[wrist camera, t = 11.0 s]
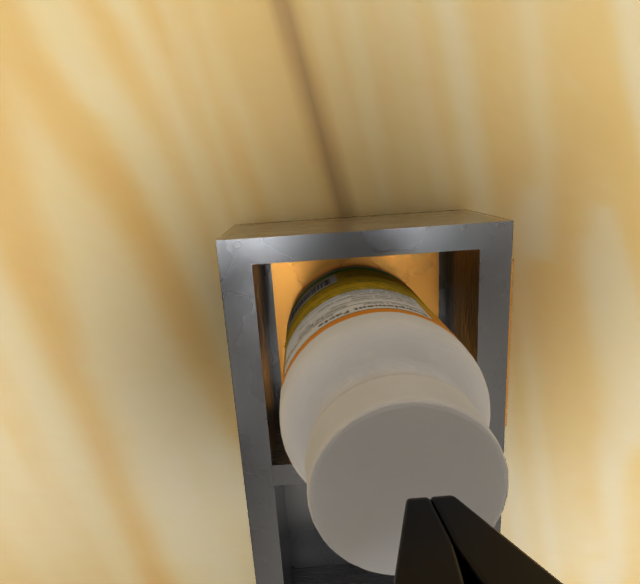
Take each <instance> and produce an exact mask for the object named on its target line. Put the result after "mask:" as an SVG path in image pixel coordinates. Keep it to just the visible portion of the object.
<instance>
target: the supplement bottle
mask: <svg viewBox="0 0 640 584" xmlns="http://www.w3.org/2000/svg"><path fill="white" fill-rule="evenodd" d="M279 418H280V430H281V436H282V440H283V444H284V447H285V451H286V453H287V455H288V457H289V459H290V461H291V463H292V465H293V467H294V468H295V470H296V471H297V473H298V474H299V476H300V477H301V478H302V479H303V480H304V481H305V482H306V483H307V499H308V507H309V511H310V514H311V518H312V521H313V523H314V525H315V527H316V529H317V530H318V532H319V534H320V535H321V537H322V539H323V540H324V541H325V542H326V544H327V545H328V546H329V547H330V548H331V549H332V550H333V551H334V552H335V553H336V554H338V555H339V556H340V557H342V558H343V559H345V560H346V561H348V562H349V563H351V564H353V565H356V566H358V567H360V568H362V569H365V570H368V571H371V572H375V573H380V574H386V575H395V570H396V563H397V557H398V550H399V544H400V537H401V530H402V524H403V517H404V511H405V504H406V501H407V499H409V498H420V497H427V498H429V499H431V498H432V497H434V496H446V495H452V496H454V497H456V498H457V499H459V500H460V501H461V502H462V503H464V504H465V505H466V506H467V507H468V508H470V509H471V510H472V511H473V512H475V513H476V514H477V515H478V516H480V517H481V518H482V519H483V520H485V521H486V522H487V523H488V524H490V525H491V526H492V527H493V528H494V526H495V524H496V523H497V521H498V519H499V517H500V515H501V513H502V511H503V509H504V505H505V501H506V498H507V492H508V469H507V464H506V460H505V457H504V454H503V451H502V449H501V446H500V444H499V442H498V441H497V439H496V437H495V436H494V434H493V433H492V432H491V430H490V429H489V425H490V399H489V392H488V388H487V385H486V382H485V379H484V377H483V374H482V372H481V370H480V368H479V366H478V364H477V363H476V361H475V360H474V358H473V357H472V355H471V354H470V353H469V352H468V350H467V349H466V348H465V347H464V345H463V344H462V343H461V342H460V341H459V340H458V339H457V338H456V336H455V335H454V334H453V333H452V332H451V331H450V330H449V329H448V328H447V327H446V326H445V325H444V324H443V323H442V321H441V320H440V319H439V318H438V317H437V316H436V315H435V314H434V313H433V312H432V311H431V310H430V309H429V308H428V307H427V306H426V305H425V304H424V303H423V301H422V300H421V299H420V298H419V297H418V296H417V295H416V294H415V293H414V292H413V291H412V290H411V289H410V288H409V287H408V286H407V285H406V284H405V283H404V282H402V281H401V280H400V279H398V278H397V277H395V276H394V275H392V274H390V273H388V272H386V271H383V270H380V269H377V268H372V267H366V266H348V267H343V268H339V269H336V270H333V271H330V272H328V273H326V274H324V275H322V276H320V277H319V278H317V279H316V280H314V281H313V282H312V283H311V284H309V285H308V286H307V287H306V288H305V289H304V290H303V292H302V293H301V294H300V296H299V297H298V299H297V300H296V302H295V304H294V306H293V308H292V310H291V313H290V316H289V320H288V324H287V332H286V342H285V354H284V365H283V375H282V385H281V395H280V411H279Z"/></svg>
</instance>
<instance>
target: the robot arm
mask: <svg viewBox="0 0 640 584" xmlns="http://www.w3.org/2000/svg"><path fill="white" fill-rule="evenodd" d="M393 584H563V583H561V582H560V581H559V580H558V579H556V578H555V577H554V576H553V575H551V574H550V573H549V572H548V571H546V570H545V569H544V568H543V567H541V566H540V565H539V564H538V563H537V562H535V561H534V560H533V559H532V558H530V557H529V556H528V555H527V554H525V553H524V552H523V551H522V550H520V549H519V548H518V547H517V546H516V545H514V544H513V543H512V542H511V541H509V540H508V539H507V538H506V537H504V536H503V535H502V534H501V533H499V532H498V531H497V530H496V529H494V528H493V527H492V526H491V525H490V524H488V523H487V522H486V521H485V520H483V519H482V518H481V517H480V516H478V515H477V514H476V513H475V512H473V511H472V510H471V509H470V508H468V507H467V506H466V505H465V504H464V503H462V502H461V501H460V500H459V499H457V498H456V497H454V496H452V495H446V496H434V497H432V498H431V499H429V498H427V497H420V498H409V499H407V501H406V504H405V511H404V517H403V524H402V530H401V537H400V544H399V550H398V557H397V563H396V570H395V576H394V583H393Z"/></svg>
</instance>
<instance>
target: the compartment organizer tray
mask: <svg viewBox="0 0 640 584" xmlns="http://www.w3.org/2000/svg"><path fill="white" fill-rule="evenodd" d="M512 240H513V221H512V220H508V219H503V218H499V217H495V216H491V215H486V214H482V213H478V212H473V211H469V210H453V211H438V212H422V213H407V214H392V215H377V216H362V217H347V218H332V219H317V220H302V221H287V222H272V223H256V224H241V225H235V226H234V227H232V228H231V229H230V230H228V231H227V232H226V233H225V234H223V235H222V236H221V237H220V238H218V239H217V240H216V248H217V257H218V265H219V273H220V282H221V290H222V299H223V307H224V315H225V324H226V332H227V341H228V349H229V357H230V366H231V374H232V383H233V391H234V400H235V408H236V416H237V425H238V433H239V442H240V450H241V458H242V467H243V475H244V484H245V492H246V500H247V509H248V517H249V526H250V534H251V542H252V551H253V559H254V568H255V576H256V584H393V583H394V576H395V575H386V574H380V573H375V572H371V571H368V570H365V569H362V568H360V567H358V566H356V565H353V564H351V563H349V562H348V561H346V560H345V559H343V558H342V557H340V556H339V555H338V554H336V553H335V552H334V551H333V550H332V549H331V548H330V547H329V546H328V545H327V544H326V542H325V541H324V540H323V539H322V537H321V535H320V534H319V532H318V530H317V529H316V527H315V525H314V523H313V521H312V518H311V514H310V511H309V507H308V499H307V483H306V482H305V481H304V480H303V479H302V478H301V477H300V476H299V474H298V473H297V471H296V470H295V468H294V467H293V465H292V463H291V461H290V459H289V457H288V455H287V453H286V451H285V447H284V444H283V440H282V436H281V430H280V418H279V411H280V395H281V385H282V375H283V365H284V354H285V342H286V332H287V324H288V320H289V316H290V313H291V310H292V308H293V306H294V304H295V302H296V300H297V299H298V297H299V296H300V294H301V293H302V292H303V290H304V289H305V288H306V287H307V286H308V285H309V284H311V283H312V282H313V281H314V280H316V279H317V278H319V277H320V276H322V275H324V274H326V273H328V272H330V271H333V270H336V269H339V268H343V267H348V266H366V267H372V268H377V269H380V270H383V271H386V272H388V273H390V274H392V275H394V276H395V277H397V278H398V279H400V280H401V281H402V282H404V283H405V284H406V285H407V286H408V287H409V288H410V289H411V290H412V291H413V292H414V293H415V294H416V295H417V296H418V297H419V298H420V299H421V300H422V301H423V303H424V304H425V305H426V306H427V307H428V308H429V309H430V310H431V311H432V312H433V313H434V314H435V315H436V316H437V317H438V318H439V319H440V320H441V321H442V323H443V324H444V325H445V326H446V327H447V328H448V329H449V330H450V331H451V332H452V333H453V334H454V335H455V336H456V338H457V339H458V340H459V341H460V342H461V343H462V344H463V345H464V347H465V348H466V349H467V350H468V352H469V353H470V354H471V355H472V357H473V358H474V360H475V361H476V363H477V364H478V366H479V368H480V370H481V372H482V374H483V377H484V379H485V382H486V385H487V388H488V392H489V399H490V425H489V429H490V430H491V432H492V433H493V434H494V436H495V437H496V439H497V441H498V442H499V444H500V446H501V449H502V451H503V454H504V431H505V426H506V420H507V396H508V373H509V349H510V326H511V303H512V279H513V259H512ZM500 527H501V515H500V517H499V519H498V521H497V523H496V524H495V526H494V529H496V530H497V531H498V532H499V533H500Z"/></svg>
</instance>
